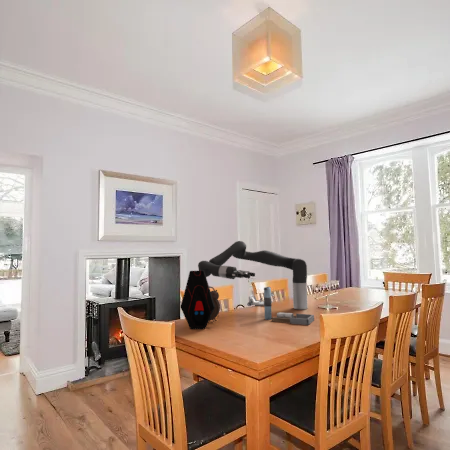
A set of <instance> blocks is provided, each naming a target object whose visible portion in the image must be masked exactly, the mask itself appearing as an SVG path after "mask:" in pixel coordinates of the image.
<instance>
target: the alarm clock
mask: <svg viewBox="0 0 450 450" xmlns="http://www.w3.org/2000/svg"><path fill="white" fill-rule="evenodd" d="M209 288H210V289H212V290H210V291H211V295H212V298H213V301H214V304H215V309H214V311H213V313H212V315H211V317H210V320H209V322H210V321H213V323H215V322H217V316H219V313H220V310H221V304H220V301H219V297H220V295H219V292H218V290H217V289H215V288H214V286H210V285H209Z"/></svg>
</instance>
